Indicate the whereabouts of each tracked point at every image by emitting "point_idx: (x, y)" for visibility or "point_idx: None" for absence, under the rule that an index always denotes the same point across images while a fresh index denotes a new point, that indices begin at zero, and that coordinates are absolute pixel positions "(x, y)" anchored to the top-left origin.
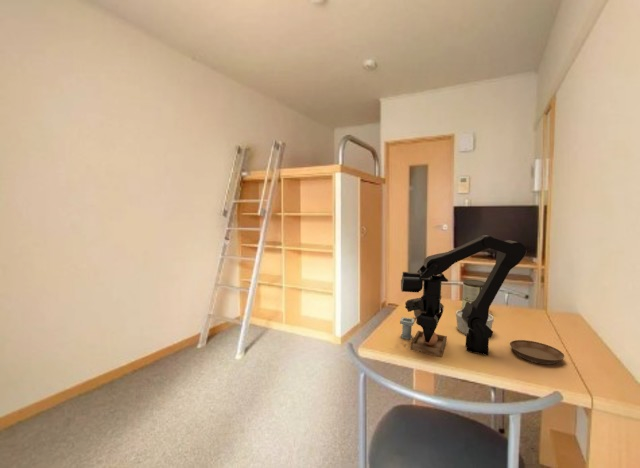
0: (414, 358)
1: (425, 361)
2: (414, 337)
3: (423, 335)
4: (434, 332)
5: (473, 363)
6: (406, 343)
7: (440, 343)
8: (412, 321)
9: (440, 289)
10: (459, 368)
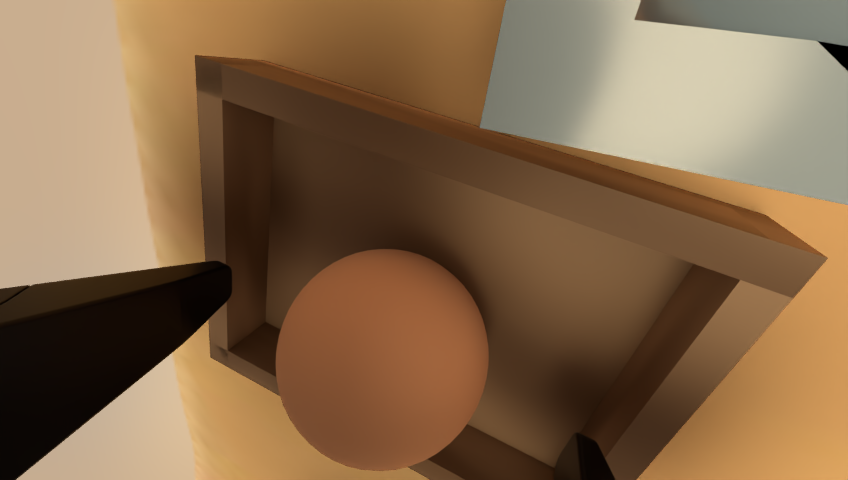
0: (141, 99)
1: (148, 187)
2: (415, 132)
3: (333, 281)
4: (355, 467)
5: (268, 464)
6: (424, 3)
7: (492, 416)
8: (758, 113)
9: None
10: (181, 369)
